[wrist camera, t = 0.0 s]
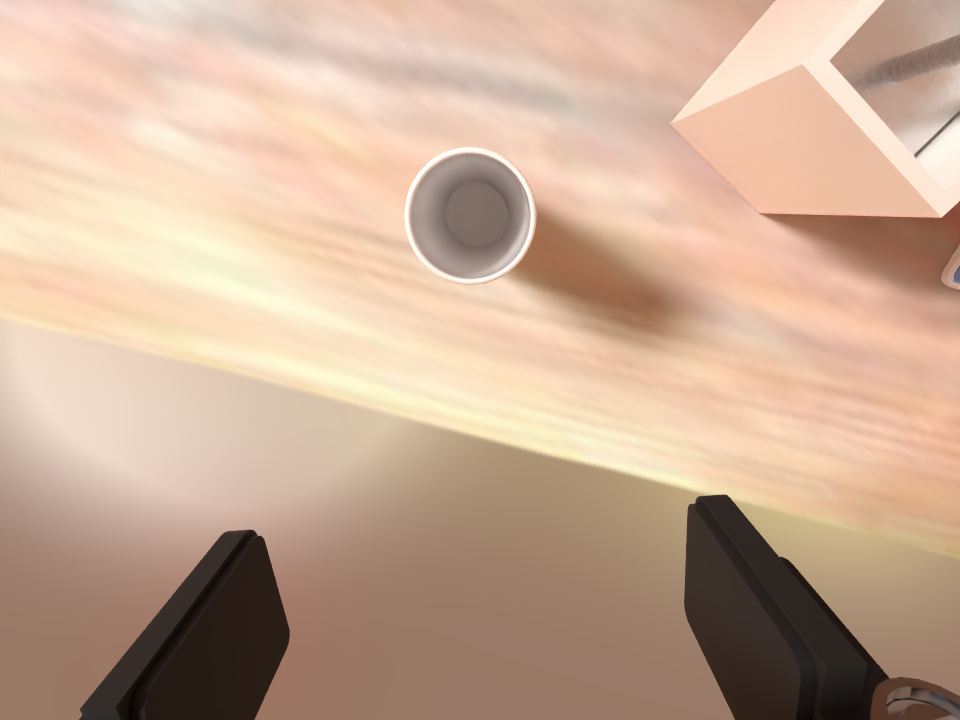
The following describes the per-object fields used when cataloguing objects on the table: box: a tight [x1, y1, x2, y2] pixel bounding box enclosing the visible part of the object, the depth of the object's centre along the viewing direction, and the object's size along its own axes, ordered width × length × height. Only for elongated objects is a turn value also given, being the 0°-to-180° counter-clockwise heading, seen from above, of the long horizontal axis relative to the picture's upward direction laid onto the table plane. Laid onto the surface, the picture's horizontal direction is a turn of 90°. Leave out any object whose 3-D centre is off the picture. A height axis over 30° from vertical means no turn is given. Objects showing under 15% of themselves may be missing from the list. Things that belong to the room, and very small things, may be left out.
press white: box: [670, 0, 960, 218], centre depth 28 cm, size 10×10×16 cm
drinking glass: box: [405, 147, 537, 285], centre depth 31 cm, size 7×7×15 cm
